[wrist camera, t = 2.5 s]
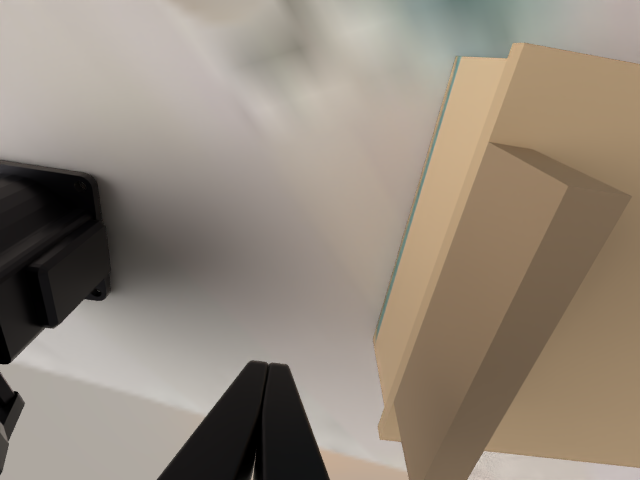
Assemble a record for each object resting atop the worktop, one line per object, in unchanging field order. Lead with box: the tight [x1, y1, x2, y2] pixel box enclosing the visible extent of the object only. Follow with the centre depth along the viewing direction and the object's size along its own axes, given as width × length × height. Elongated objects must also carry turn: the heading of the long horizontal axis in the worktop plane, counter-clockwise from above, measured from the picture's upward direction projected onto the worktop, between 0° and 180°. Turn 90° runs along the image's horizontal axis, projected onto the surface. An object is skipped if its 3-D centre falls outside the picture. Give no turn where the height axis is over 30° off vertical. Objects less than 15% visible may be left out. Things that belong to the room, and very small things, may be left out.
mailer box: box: [373, 56, 507, 407], centre depth 15 cm, size 14×14×5 cm
